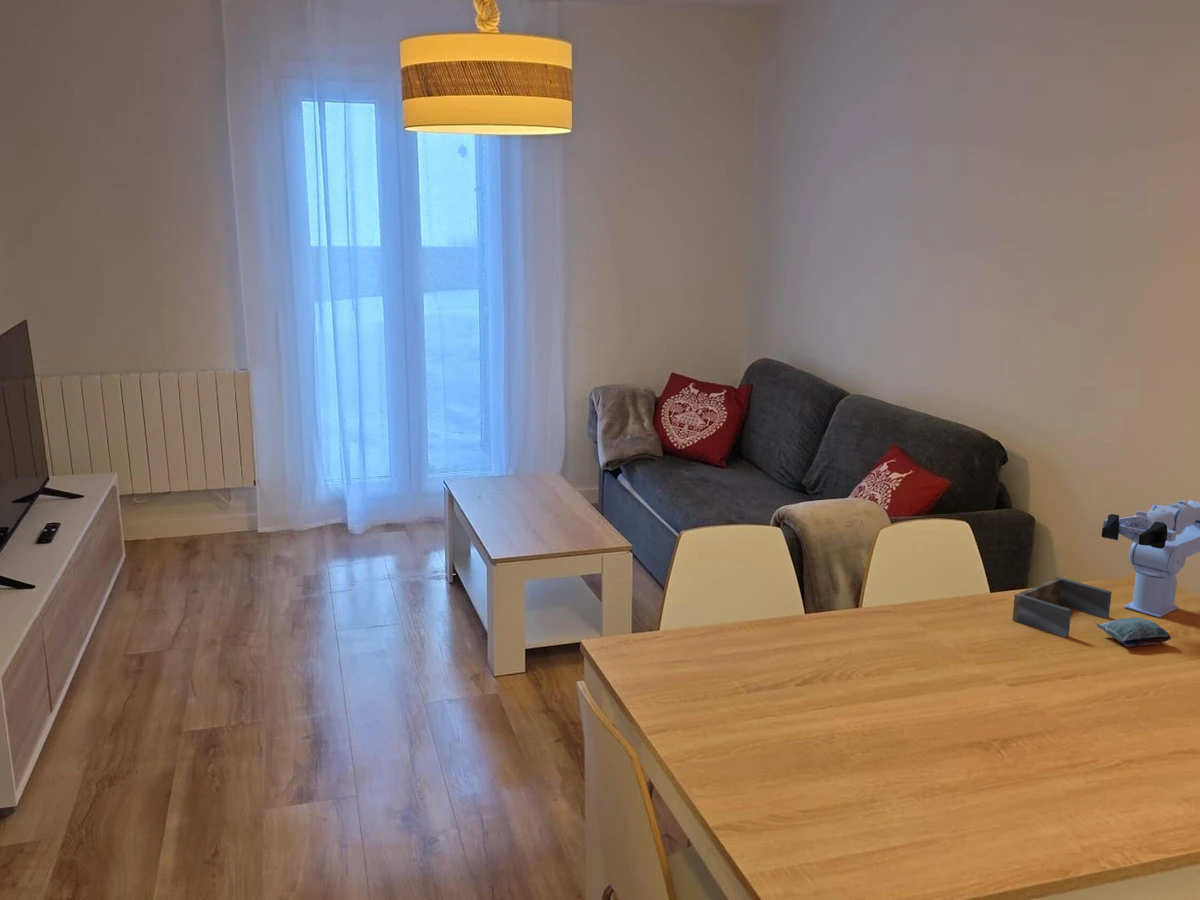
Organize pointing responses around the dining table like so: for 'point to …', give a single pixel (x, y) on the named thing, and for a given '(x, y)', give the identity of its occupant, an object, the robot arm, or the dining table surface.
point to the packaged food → (1135, 631)
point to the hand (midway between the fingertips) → (1121, 536)
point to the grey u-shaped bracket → (1043, 601)
